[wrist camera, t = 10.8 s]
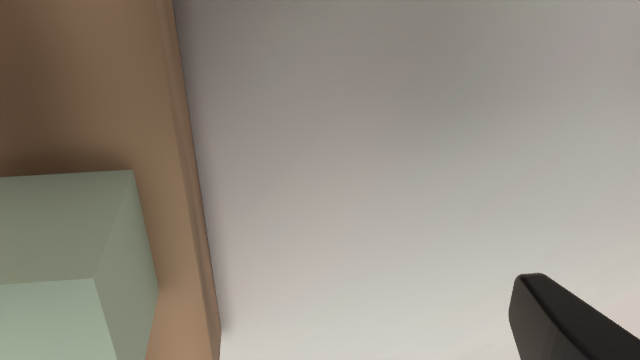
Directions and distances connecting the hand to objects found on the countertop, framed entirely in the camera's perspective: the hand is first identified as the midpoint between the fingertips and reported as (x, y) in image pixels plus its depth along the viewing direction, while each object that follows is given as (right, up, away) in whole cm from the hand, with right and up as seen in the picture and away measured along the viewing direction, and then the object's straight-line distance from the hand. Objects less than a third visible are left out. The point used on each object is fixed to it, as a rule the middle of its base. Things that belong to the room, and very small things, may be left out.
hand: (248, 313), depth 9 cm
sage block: (-7, 0, +9) cm, 12 cm away
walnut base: (-7, +2, +12) cm, 14 cm away
